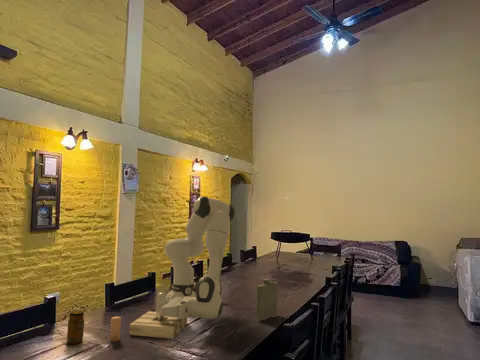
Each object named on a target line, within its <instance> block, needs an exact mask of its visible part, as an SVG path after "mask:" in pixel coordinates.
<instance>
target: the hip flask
mask: <svg viewBox="0 0 480 360" xmlns="http://www.w3.org/2000/svg"><path fill="white" fill-rule="evenodd" d="M262 281H263V283H260V284H258V285H256V294H255V297H256V298H255V301H256V302H255V303H256V305H255V321H256V320H258V321H261V320H263V319H265V318H268V317H271V316H275V315H277V316H278V289H279V288H278V286H279V284H278V282H277V281H271V280H270V279H269V278H262Z"/></svg>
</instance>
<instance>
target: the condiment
mask: <svg viewBox="0 0 480 360" xmlns="http://www.w3.org/2000/svg"><path fill="white" fill-rule="evenodd" d="M84 314H85V313H84V311H82V310H73V311H71V312H69V319H68V320H67V335H66V340H63V341H62V342H61V343H63V344H64V345H66V346H68V347H69V348H74V347H79V346H83V345H86V344H89V342H88V341H86V340H85V339H84V333H85V332H84V330H85V318H84V316H85V315H84Z"/></svg>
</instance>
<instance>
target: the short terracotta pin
mask: <svg viewBox="0 0 480 360" xmlns="http://www.w3.org/2000/svg"><path fill="white" fill-rule="evenodd" d="M121 325H122V316H112V317H111V318H110V332H109V333H110V334H109V341H110V342H113V343H114V342H115V343H116V342H118V341H120V340H121V328H122V326H121Z"/></svg>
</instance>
